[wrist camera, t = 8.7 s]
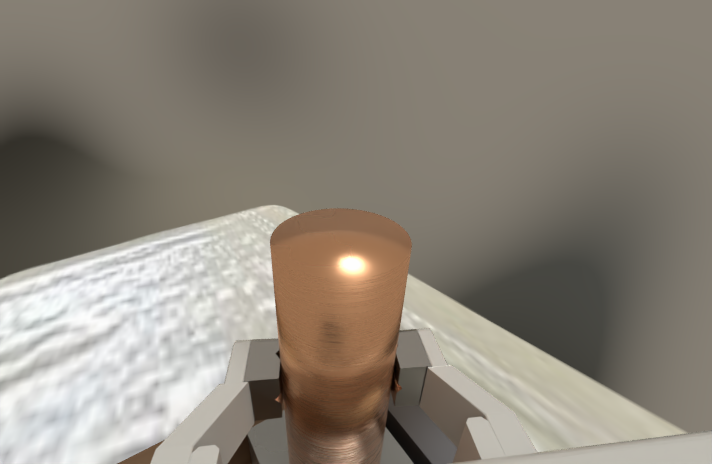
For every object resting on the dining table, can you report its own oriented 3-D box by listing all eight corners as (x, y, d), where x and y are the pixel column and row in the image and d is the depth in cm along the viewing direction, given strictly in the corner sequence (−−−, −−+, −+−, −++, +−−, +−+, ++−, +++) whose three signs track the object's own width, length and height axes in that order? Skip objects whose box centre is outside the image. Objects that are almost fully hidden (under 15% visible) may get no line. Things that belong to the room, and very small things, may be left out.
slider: (424, 529, 14) (505, 265, 8) (316, 635, 11) (309, 362, 5) (344, 413, 18) (355, 184, 12) (253, 469, 15) (206, 213, 9)
